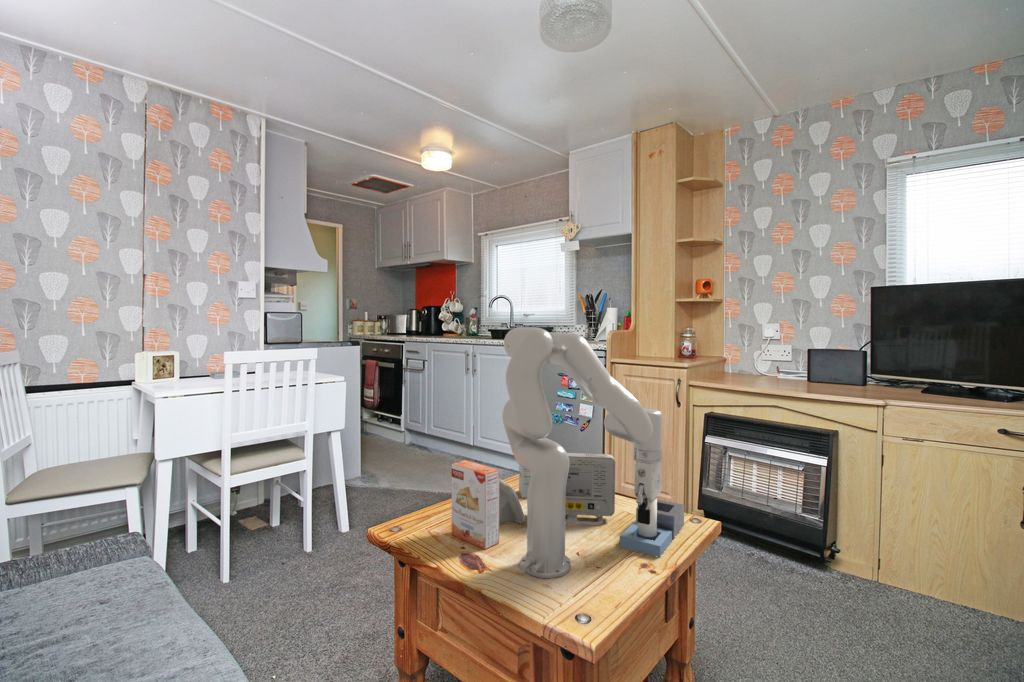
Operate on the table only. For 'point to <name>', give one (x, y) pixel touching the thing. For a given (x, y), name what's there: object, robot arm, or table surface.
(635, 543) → the lower socket
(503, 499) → the digital clock
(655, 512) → the plug
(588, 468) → the network device
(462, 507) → the cracker box
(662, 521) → the upper socket
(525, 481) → the supplement box
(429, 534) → the table surface
